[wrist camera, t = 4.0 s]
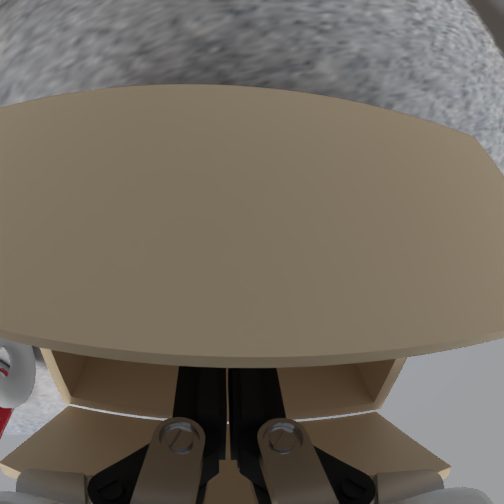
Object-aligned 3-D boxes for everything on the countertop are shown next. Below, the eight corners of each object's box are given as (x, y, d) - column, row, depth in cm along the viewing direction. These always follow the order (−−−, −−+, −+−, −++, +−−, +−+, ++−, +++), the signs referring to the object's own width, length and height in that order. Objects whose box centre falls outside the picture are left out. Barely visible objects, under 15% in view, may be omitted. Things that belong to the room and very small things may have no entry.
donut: (51, 366, 29) (21, 429, 20) (32, 365, 29) (1, 424, 20) (14, 295, 25) (-35, 355, 16) (-5, 297, 25) (-52, 353, 16)
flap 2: (-1, 462, 7) (2, 473, 7) (451, 466, 9) (447, 476, 9) (68, 405, 15) (70, 414, 15) (376, 411, 17) (374, 419, 16)
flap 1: (559, 320, 5) (572, 311, 5) (-107, 301, 3) (-119, 290, 3) (468, 147, 10) (474, 136, 10) (-1, 121, 8) (-5, 109, 8)
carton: (98, 113, 19) (-5, 122, 8) (365, 128, 21) (472, 149, 10) (112, 300, 26) (64, 402, 15) (332, 307, 28) (381, 408, 17)
